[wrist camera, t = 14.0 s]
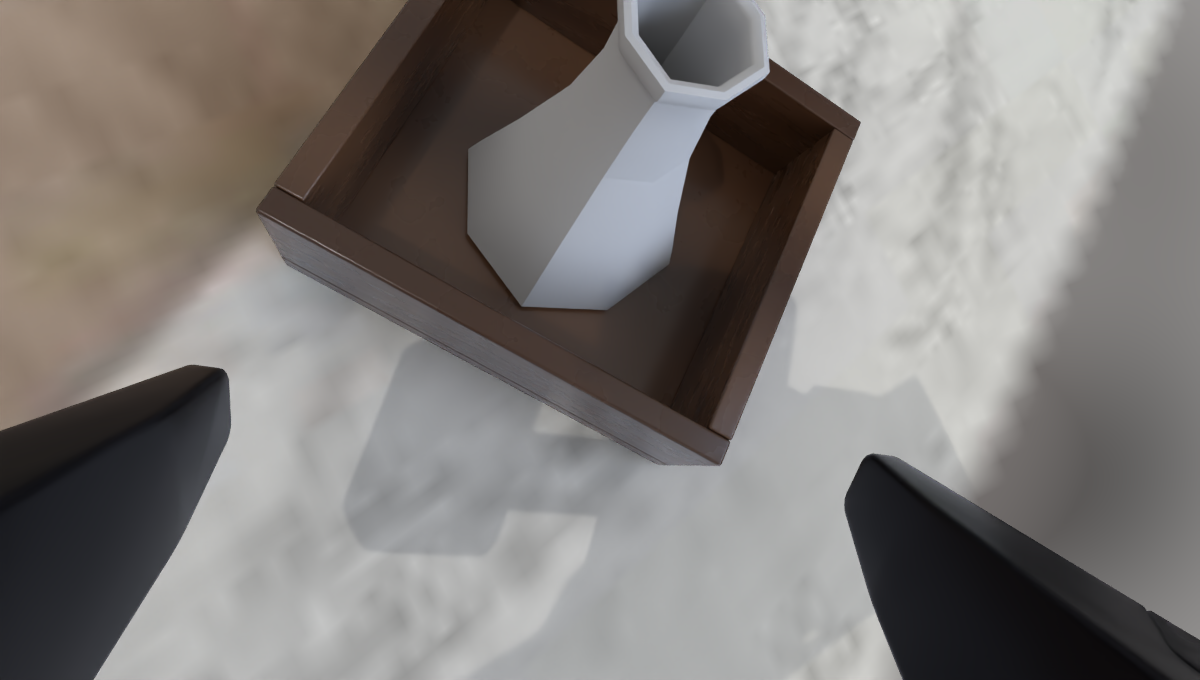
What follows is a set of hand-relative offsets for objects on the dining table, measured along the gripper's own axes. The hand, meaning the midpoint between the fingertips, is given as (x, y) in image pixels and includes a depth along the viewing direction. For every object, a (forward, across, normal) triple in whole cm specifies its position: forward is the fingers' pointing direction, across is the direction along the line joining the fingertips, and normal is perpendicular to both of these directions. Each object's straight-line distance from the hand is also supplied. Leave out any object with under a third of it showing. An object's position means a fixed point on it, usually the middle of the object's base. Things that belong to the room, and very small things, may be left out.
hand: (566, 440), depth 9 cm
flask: (+14, -1, +1) cm, 14 cm away
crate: (+15, -1, +1) cm, 15 cm away
